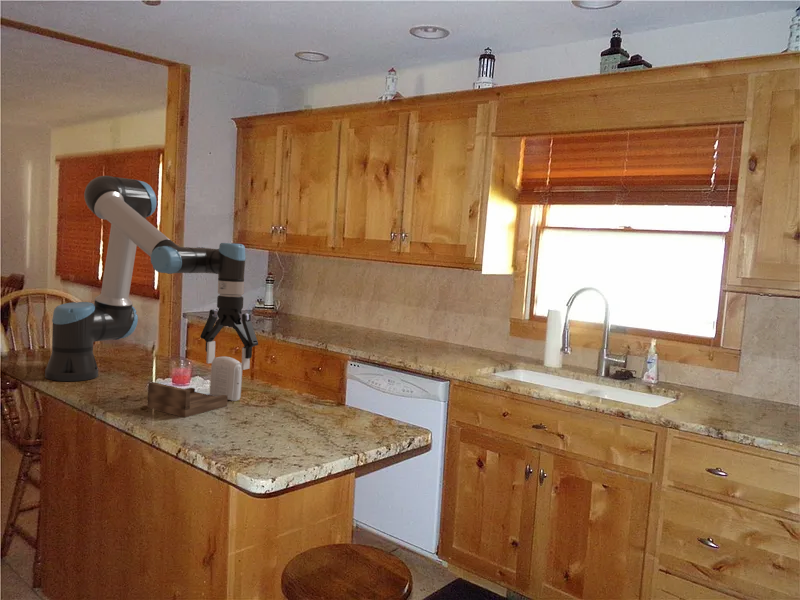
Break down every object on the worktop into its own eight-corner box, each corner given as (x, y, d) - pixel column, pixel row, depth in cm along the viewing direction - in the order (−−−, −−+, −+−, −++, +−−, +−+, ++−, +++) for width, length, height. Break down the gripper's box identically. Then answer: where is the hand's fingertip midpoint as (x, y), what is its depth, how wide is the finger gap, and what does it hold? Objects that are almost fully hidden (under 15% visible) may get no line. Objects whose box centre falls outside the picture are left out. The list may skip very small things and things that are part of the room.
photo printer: (243, 399, 194) (245, 358, 193) (232, 402, 190) (234, 360, 189) (217, 393, 199) (220, 353, 198) (207, 395, 195) (209, 355, 194)
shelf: (147, 407, 177) (148, 382, 177) (190, 397, 192) (191, 374, 191) (185, 417, 171) (186, 391, 171) (226, 406, 185) (228, 382, 185)
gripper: (189, 292, 194) (187, 361, 196) (255, 299, 183) (252, 373, 185) (207, 291, 201) (205, 358, 203) (272, 298, 190) (268, 369, 191)
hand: (227, 366), depth 194 cm, fingers open, 13 cm apart
